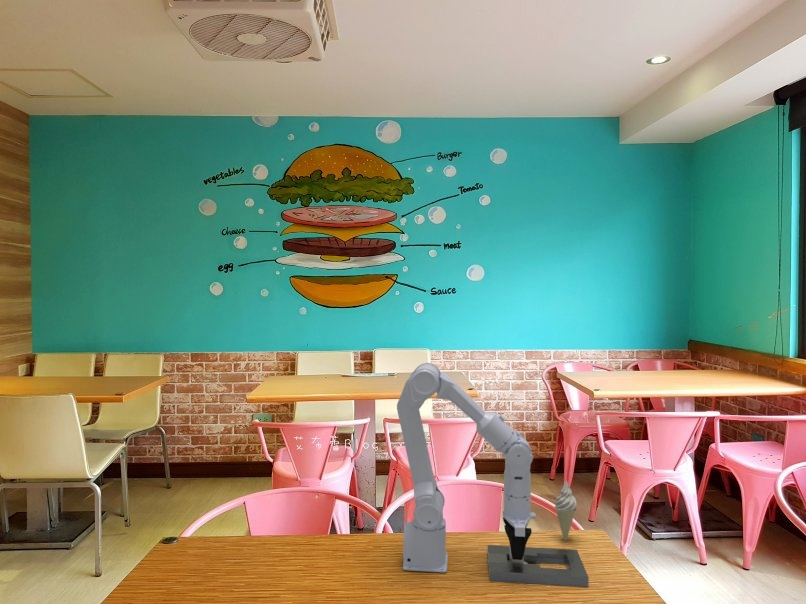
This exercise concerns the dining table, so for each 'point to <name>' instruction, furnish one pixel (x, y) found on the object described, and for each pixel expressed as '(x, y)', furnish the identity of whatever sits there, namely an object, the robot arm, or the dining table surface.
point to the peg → (516, 560)
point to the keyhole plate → (537, 567)
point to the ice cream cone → (565, 509)
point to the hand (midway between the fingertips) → (516, 555)
